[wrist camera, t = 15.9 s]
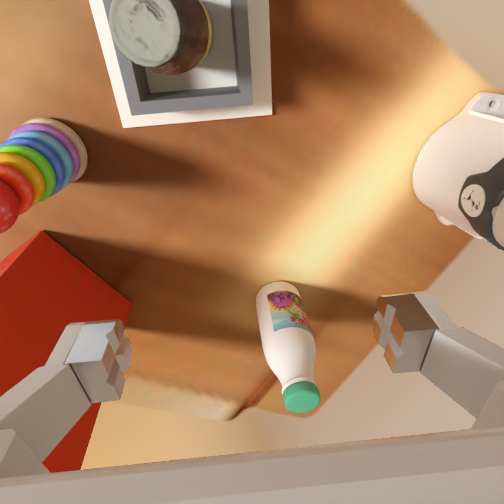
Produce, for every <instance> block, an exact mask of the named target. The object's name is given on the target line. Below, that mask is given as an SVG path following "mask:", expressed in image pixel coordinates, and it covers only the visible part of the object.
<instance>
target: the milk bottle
mask: <svg viewBox="0 0 504 504" xmlns="http://www.w3.org/2000/svg"><path fill="white" fill-rule="evenodd" d="M256 309H257V315H258V322H259V328H260V334H261V340H262V345H263V350H264V354H265V358H266V360H267V363H268V365H269V366H270V368H271V369H272V371H273V372H274V373H275V375H276V376H277V377H278V379H279V380H280V382H281V384H282V386H283V388H282V394H283V401H284V405H285V407H286V409H287V410H289V411H291V412H294V413H304V412H308V411H311V410H313V409H314V408H316V407H317V406H318V405H319V403H320V393H319V390H318V388H317V384H316V382H315V381H314V380H313V370H314V365H315V360H316V346H315V341H314V337H313V334H312V330H311V327H310V324H309V321H308V318H307V315H306V312H305V309H304V306H303V303H302V300H301V297H300V294H299V292H298V290H297V289H296V287H294V286H293V285H292V284H290V283H288V282H284V281H277V282H272V283H269V284H267V285H265V286H264V287H263V288H261V289H260V291H259V292H258V294H257V296H256Z"/></svg>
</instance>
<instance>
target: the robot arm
mask: <svg viewBox="0 0 504 504" xmlns="http://www.w3.org/2000/svg"><path fill="white" fill-rule="evenodd" d="M491 101H492V103H491V105H490V106H489V103H490V102H491ZM413 188H414V191H415V194H416V196H417V198H418V199H419V200H420V201H421V202H422V203H423V204H424V205H425V206H427V207H429V208H430V209H432V210H433V211H434V212H435V214H436V216H437V218H438V220H439V221H440V222H441V223H443V224H444V225H452V224H454V225H456V226H457V227H459V228H461V229H462V230H464V231H466V232H467V233H469V234H471V235H472V236H474V237H476V238H480V239H482V238H483V239H484V240H486V241H487V242H488V243H490V244H491V245H494V246H496V247H497V248H499V249H501V250H504V94H501V93H494V92H488V91H482V92H480V93H478V94H476V95H475V96H474V97H473V98H472V99H471V100H470V102H469V103H468V104H467V105H466V106H465V108H464V109H463V110H462V111H461V113H459V114H458V115H457V116H456V117H454V118H453V119H452V120H450V121H449V122H447V123H446V124H444V125H443V126H442V127H441V128H440V129H438V130H437V131H436V132H435V133H434V134H433V135H432V136H431V138H430V139H429V140H428V141H427V143H426V144H425V145H424V147H423V148H422V150H421V152H420V154H419V156H418V158H417V161H416V163H415V167H414V171H413ZM376 307H377V308H378V310H379V311H378V312H376V313H375V314H374V316H373V322H372V325H373V333H374V336H375V339H376V341H377V343H378V344H379V345H380V346H382V347H383V348H385V353H384V357H385V359H386V361H387V363H388V364H389V367H390V369H391V371H392V372H393V373H402V372H417V371H420V373H422V374H423V375H424V376H425V377H426V378H427V379H429V380H430V381H431V382H432V383H434V384H435V385H436V386H437V387H439V388H440V389H441V390H442V391H443V392H445V393H446V394H447V395H448V396H449V397H451V398H452V399H453V400H454V401H456V402H457V403H458V404H459V405H461V406H462V407H463V408H464V409H465V410H467V411H468V412H469V413H470V414H472V415H473V416H474V417H475V418H477V419H476V421H475V422H474V424H473V426H472V428H471V429H468V430H459V431H449V432H440V433H431V434H420V435H411V436H401V437H391V438H382V439H372V440H363V441H353V442H344V443H334V444H324V445H315V446H306V447H296V448H287V449H276V450H267V451H259V452H248V453H238V454H229V455H220V456H210V457H200V458H191V459H181V460H171V461H162V462H152V463H144V464H133V465H123V466H114V467H104V468H95V469H85V470H75V471H65V472H56V473H50V472H49V471H48V470H47V468H46V467H45V466H44V465H43V464H42V462H43V461H44V460H45V458H46V457H47V456H48V455H49V454H50V453H51V451H52V450H53V449H54V448H55V447H56V446H57V445H58V443H59V442H60V441H61V440H62V439H63V438H64V436H65V435H66V434H67V433H68V432H69V431H70V429H71V428H72V427H73V426H74V425H75V424H76V422H77V421H78V420H79V419H80V418H81V417H82V415H83V414H84V413H85V412H86V411H87V410H88V408H89V407H90V406H91V403H99V402H106V401H115V400H120V398H121V394H122V391H123V387H124V384H125V378H124V375H123V373H124V372H125V371H126V370H127V369H128V368H129V366H130V362H131V354H132V349H131V343H130V340H129V338H128V337H127V336H125V335H124V334H123V332H124V329H125V327H124V325H123V322H122V320H119V319H117V320H102V321H87V322H78V323H70V324H69V325H67V326H66V328H65V329H64V331H63V333H62V335H61V337H60V339H59V341H58V342H57V344H56V346H55V348H54V350H53V352H52V353H51V355H50V357H49V359H48V361H47V363H46V364H45V366H44V367H39V368H37V369H36V370H35V371H33V372H32V373H31V374H30V375H28V376H27V377H26V378H24V379H23V380H22V381H20V382H19V383H18V384H17V385H15V386H14V387H13V388H11V389H10V390H9V391H7V392H6V393H5V394H4V395H2V396H1V397H0V504H504V348H502V347H500V346H498V345H496V344H494V343H492V342H490V341H488V340H487V339H485V338H483V337H481V336H479V335H477V334H475V333H473V332H471V331H469V330H467V329H465V328H464V327H460V328H458V327H457V326H456V324H455V323H454V322H453V321H452V319H451V318H450V317H449V316H448V315H447V313H446V312H445V311H444V310H443V308H442V307H441V306H440V305H439V303H438V302H437V301H436V300H435V299H434V297H433V296H432V295H431V294H430V293H429V292H427V291H420V292H411V293H402V294H392V295H382V296H379V297H378V298H377V301H376Z"/></svg>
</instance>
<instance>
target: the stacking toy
mask: <svg viewBox="0 0 504 504" xmlns="http://www.w3.org/2000/svg"><path fill="white" fill-rule="evenodd" d="M87 162H88V156H87V151H86V148H85V146H84V144H83V142H82V140H81V139H80V137H79V136H78V135H77V134H76V133H75V132H74V131H73V130H72V129H71V128H70V127H68V126H67V125H65V124H63V123H61V122H59V121H57V120H54V119H50V118H35V119H31V120H28V121H26V122H25V123H23V124H22V125H21V126H19V127H18V128H16V129H15V130H14V131H13V132H12V133H11V135H10V136H9V138H8V139H7V140H6V141H5V142H3V143H2V144H1V145H0V233H3V232H4V231H6V230H8V229H9V228H10V227H11V226H12V225H13V224H14V223H15V221H16V220H17V218H18V215H21V214H23V213H24V212H26V211H27V210H28V209H29V208H30V207H31V206H33V205H35V204H37V203H38V202H41V201H44V200H45V199H47V198H48V197H50V196H52V195H54V194H55V193H57V192H58V191H60V190H62V189H64V188H65V187H66V186H67V185H68V184H69V183H72V182H74V181H76V180H78V179H79V178H80V177H81V176H82V175H83V174H84V172H85V170H86V167H87Z"/></svg>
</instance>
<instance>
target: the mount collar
mask: <svg viewBox="0 0 504 504" xmlns="http://www.w3.org/2000/svg"><path fill="white" fill-rule="evenodd" d="M111 1H112V0H89V2H90V6H91V10H92V13H93V17H94V21H95V24H96V28H97V32H98V36H99V39H100V43H101V47H102V51H103V54H104V58H105V62H106V65H107V69H108V73H109V77H110V80H111V84H112V88H113V91H114V95H115V99H116V103H117V106H118V110H119V114H120V117H121V121H122V125H123V128H130V127H141V126H152V125H163V124H175V123H186V122H197V121H208V120H219V119H230V118H242V117H253V116H264V115H272V89H271V55H270V21H269V0H199V1H200V2H201V3H202V4H203V5H204V7H205V8H206V10H207V11H208V13H209V15H210V17H211V20H212V25H213V32H214V36H213V43H212V48H211V50H210V52H209V54H208V55H207V57H206V58H205V59H204V60H203V61H202V62H201V63H200V64H198V65H197V66H196V67H195V68H193V69H192V70H189V71H187V72H185V73H181V74H179V75H163V74H160V73H157V72H153V71H152V70H150V69H149V68H147V67H143V66H140V65H136V64H135V63H133V62H132V61H130V60H129V59H128V58H126V57H125V56H124V55H123V54H122V52H121V51H120V50H119V49H118V47H117V46H116V44H115V42H114V41H113V39H112V35H111V31H110V28H109V21H108V13H109V5H110V3H111Z"/></svg>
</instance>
